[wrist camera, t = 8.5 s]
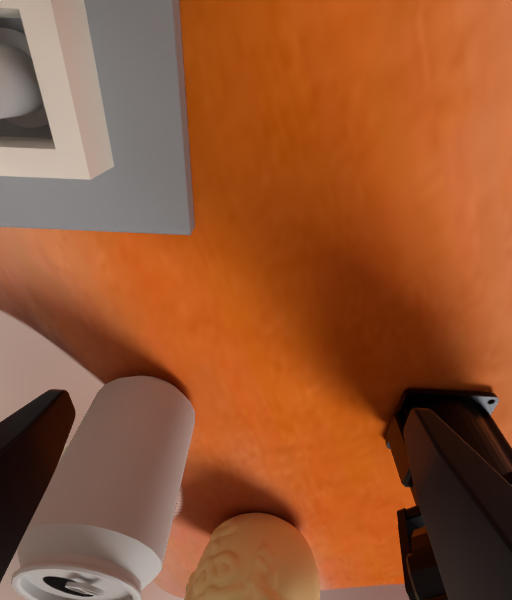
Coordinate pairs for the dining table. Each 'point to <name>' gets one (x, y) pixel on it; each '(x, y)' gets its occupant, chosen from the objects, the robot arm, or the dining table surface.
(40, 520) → the can
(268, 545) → the sculpture
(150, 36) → the post stand
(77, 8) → the white square frame
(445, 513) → the robot arm
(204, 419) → the dining table surface
